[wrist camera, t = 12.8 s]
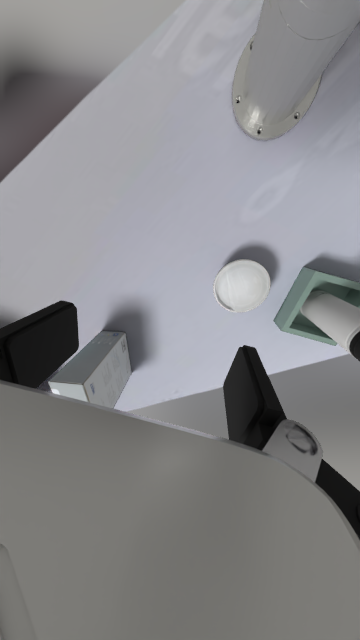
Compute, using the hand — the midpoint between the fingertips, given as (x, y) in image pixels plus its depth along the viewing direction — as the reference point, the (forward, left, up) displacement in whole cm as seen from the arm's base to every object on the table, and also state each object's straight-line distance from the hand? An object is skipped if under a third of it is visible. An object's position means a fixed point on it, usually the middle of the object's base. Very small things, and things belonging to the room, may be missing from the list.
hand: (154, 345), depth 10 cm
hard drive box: (+32, -15, -35) cm, 49 cm away
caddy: (+2, +29, -34) cm, 45 cm away
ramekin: (+2, +11, -35) cm, 36 cm away
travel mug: (+1, +28, -34) cm, 44 cm away
